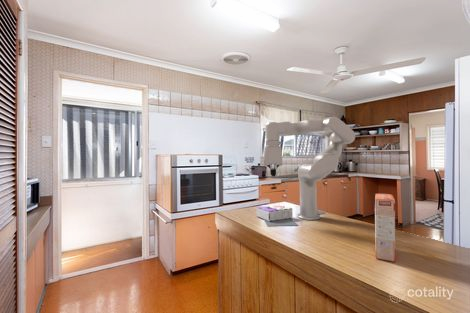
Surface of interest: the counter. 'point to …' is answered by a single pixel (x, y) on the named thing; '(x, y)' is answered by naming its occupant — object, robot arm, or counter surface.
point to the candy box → (274, 212)
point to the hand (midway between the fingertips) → (273, 176)
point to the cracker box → (385, 227)
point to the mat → (281, 222)
